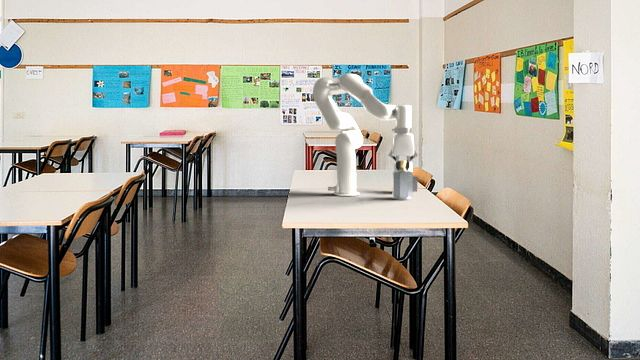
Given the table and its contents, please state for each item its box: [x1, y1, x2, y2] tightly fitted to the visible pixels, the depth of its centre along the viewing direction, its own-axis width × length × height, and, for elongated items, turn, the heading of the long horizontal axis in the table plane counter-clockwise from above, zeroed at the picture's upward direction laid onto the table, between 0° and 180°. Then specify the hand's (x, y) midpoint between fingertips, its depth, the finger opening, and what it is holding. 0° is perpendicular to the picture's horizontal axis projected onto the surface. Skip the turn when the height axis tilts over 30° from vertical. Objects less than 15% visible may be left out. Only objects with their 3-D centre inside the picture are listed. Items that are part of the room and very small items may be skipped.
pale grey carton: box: [392, 170, 419, 201], centre depth 299 cm, size 12×9×13 cm
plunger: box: [399, 160, 407, 172], centre depth 298 cm, size 6×6×16 cm
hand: (402, 169), depth 298 cm, fingers closed on plunger, 3 cm apart
